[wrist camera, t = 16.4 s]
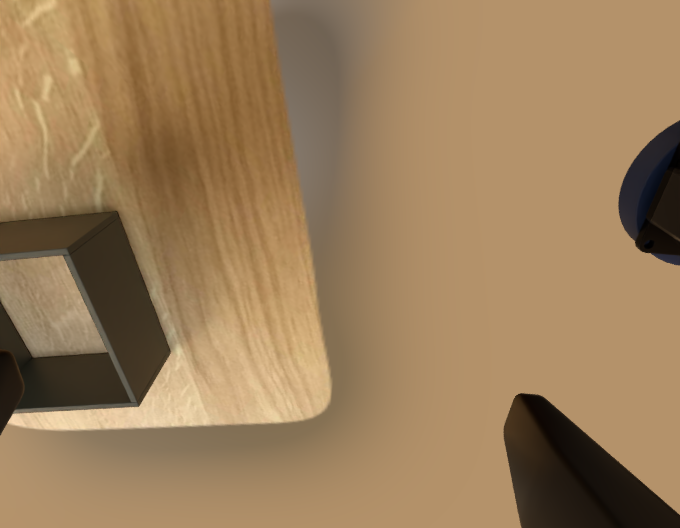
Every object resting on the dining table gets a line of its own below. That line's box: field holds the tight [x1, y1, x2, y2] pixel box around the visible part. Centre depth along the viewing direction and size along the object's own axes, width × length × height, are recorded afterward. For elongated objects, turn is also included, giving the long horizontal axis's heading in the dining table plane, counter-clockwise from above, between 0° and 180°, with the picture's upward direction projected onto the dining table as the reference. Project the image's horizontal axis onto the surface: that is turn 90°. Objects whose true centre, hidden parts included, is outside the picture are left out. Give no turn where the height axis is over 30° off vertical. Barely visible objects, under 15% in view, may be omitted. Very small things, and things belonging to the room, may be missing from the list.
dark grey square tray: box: [0, 211, 170, 414], centre depth 21 cm, size 9×9×4 cm
